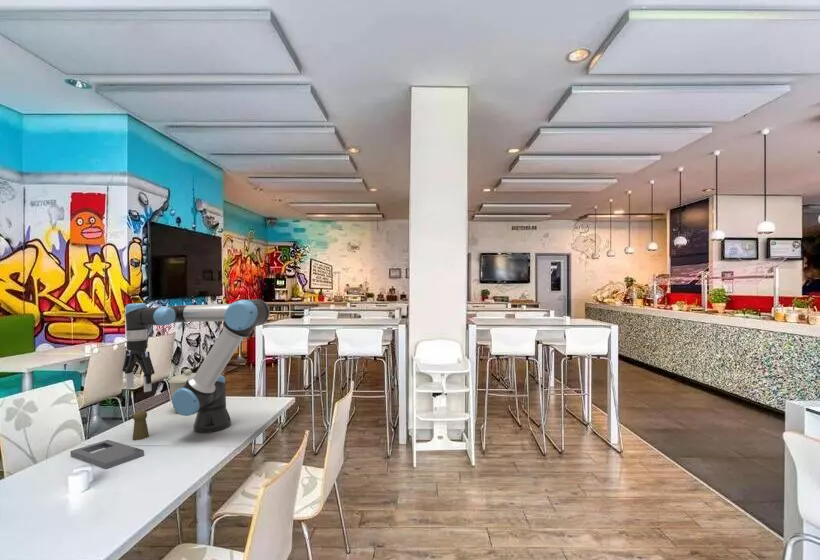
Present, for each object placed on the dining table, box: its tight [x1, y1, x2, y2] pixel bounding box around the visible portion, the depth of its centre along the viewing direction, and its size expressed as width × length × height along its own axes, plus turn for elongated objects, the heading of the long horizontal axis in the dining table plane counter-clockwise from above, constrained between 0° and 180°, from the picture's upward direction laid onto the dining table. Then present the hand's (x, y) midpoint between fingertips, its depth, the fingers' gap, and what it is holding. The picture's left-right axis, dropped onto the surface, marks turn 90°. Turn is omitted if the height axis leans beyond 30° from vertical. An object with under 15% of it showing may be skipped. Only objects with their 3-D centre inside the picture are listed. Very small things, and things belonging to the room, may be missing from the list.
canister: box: [167, 368, 196, 411], centre depth 223 cm, size 18×18×21 cm
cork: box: [132, 410, 150, 441], centre depth 185 cm, size 6×6×11 cm
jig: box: [70, 439, 145, 470], centre depth 165 cm, size 26×13×2 cm, turn 60°
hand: (138, 389), depth 185 cm, fingers open, 13 cm apart
